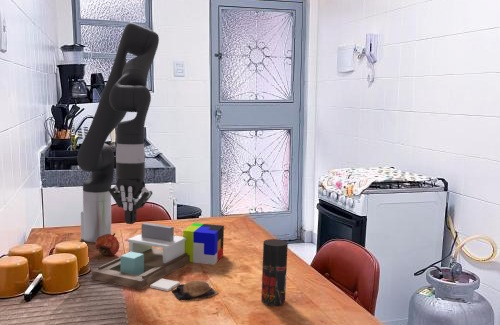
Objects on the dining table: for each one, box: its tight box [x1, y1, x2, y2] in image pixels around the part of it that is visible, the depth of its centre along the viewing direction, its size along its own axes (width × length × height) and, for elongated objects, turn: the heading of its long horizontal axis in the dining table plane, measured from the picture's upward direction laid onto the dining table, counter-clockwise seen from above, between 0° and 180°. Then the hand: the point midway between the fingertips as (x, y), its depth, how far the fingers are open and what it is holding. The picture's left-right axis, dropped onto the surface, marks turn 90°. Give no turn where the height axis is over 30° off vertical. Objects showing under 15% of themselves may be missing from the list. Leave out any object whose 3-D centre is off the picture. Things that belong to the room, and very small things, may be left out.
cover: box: [127, 222, 186, 263], centre depth 143 cm, size 14×10×9 cm
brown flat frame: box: [91, 247, 191, 290], centre depth 138 cm, size 16×25×3 cm, turn 157°
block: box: [119, 251, 144, 276], centre depth 132 cm, size 4×4×6 cm
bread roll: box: [171, 279, 219, 302], centre depth 122 cm, size 11×8×4 cm
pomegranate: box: [95, 232, 120, 260], centre depth 148 cm, size 7×7×10 cm
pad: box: [149, 278, 180, 292], centre depth 126 cm, size 6×6×1 cm
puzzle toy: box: [182, 222, 225, 266], centre depth 149 cm, size 10×10×10 cm
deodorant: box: [260, 238, 289, 307], centre depth 118 cm, size 6×6×15 cm
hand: (130, 223), depth 131 cm, fingers closed
